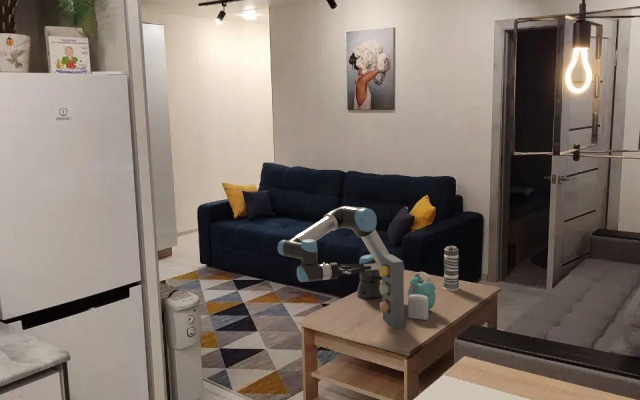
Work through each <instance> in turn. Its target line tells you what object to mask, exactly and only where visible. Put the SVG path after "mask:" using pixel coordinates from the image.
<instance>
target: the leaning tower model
mask: <svg viewBox="0 0 640 400" xmlns="http://www.w3.org/2000/svg"><path fill="white" fill-rule="evenodd" d="M459 260H460V255H459V248H457V246H456V245H448V246H446V247H445V248H444V257H443V261H442V262H443V270H444V275H443V278H444V279H443V281H444V282H443V289H444V290H446V291H448V292H455V291H458V290H459V289H460V288H459V287H460V285H459V284H460V277H459V270H460V267H459V266H460V261H459Z"/></svg>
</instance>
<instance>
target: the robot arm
mask: <svg viewBox="0 0 640 400" xmlns="http://www.w3.org/2000/svg"><path fill="white" fill-rule="evenodd" d="M377 218H378V217H377V215H376V213H375V212H374V211H373V209H371V208H367V207H364V206H363V207H360V206H350V205H343V206H339V207H337V208H335V209H333V210H331V211H329V212H327V213H326V214H324V215H323V217H322V218H321V219H319V220H318V221H317V222H315V223H313V224H312V225H310V226H309V227H307V228H305V230H302V231H301V232H299V233H298V234H296V235H295V236H293V237H292V238H290V239H282V240H280V241H279V242H278V244H277V251H278V254H280V255H281V256H284V257H289V258H295V259H300V260H301V264H300V265H299V266H297V267H296V277H297V280H298V281H299V282H300V283H306V282H317V281H326V280H334V279H339V277H340V275H343V276H345V275H346V276H353V275H357V274H359V284H358V287H357V290H356V292H357V293H356V294H357V296H358V297H359V298H361V299H365V300H366V299H367V300H373V299H379V298H383V295H382V294H381V293H380V289H379V286H380V284H382V277H381V276H380V274H379V267H381V266H382V256H383V255H392V254H390V253H389V250H388V249H387V247H386V246H385V244H384V242H383V241H382V239H381V237H380V235H379V234H378V232H377V230H376V228H377V223H378V221H377ZM338 229H348V230H352V231H353V233H354V234H355V235H356V237H358V238H361V240H362V242H363V243H364V245H365V246H366V248H367V250H368V252H369V253H370V254H365V255H362V256H360V258H359V263H340V264H339V263H338V262H330V263H325V262H323V263H321V264H320V263H318V245H317V244H318V243H317V241H318V240H320V239H321V238H322V237H325V235H327V234H328V233H330V232H331V231H332V232H334V231H336V230H338ZM404 272H405V266H404V264H403V274H405V273H404Z"/></svg>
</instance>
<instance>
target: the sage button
mask: <svg viewBox="0 0 640 400" xmlns="http://www.w3.org/2000/svg"><path fill="white" fill-rule="evenodd" d="M379 289H380V293H381V294H390V284H388V283H387V284H382V283H381V284H380V286H379Z"/></svg>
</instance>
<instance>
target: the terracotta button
mask: <svg viewBox="0 0 640 400" xmlns="http://www.w3.org/2000/svg"><path fill="white" fill-rule="evenodd" d="M379 309H380V312H381V313H383V312H387V311H390V302H389V301H384V302H383V301H380V303H379Z"/></svg>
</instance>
